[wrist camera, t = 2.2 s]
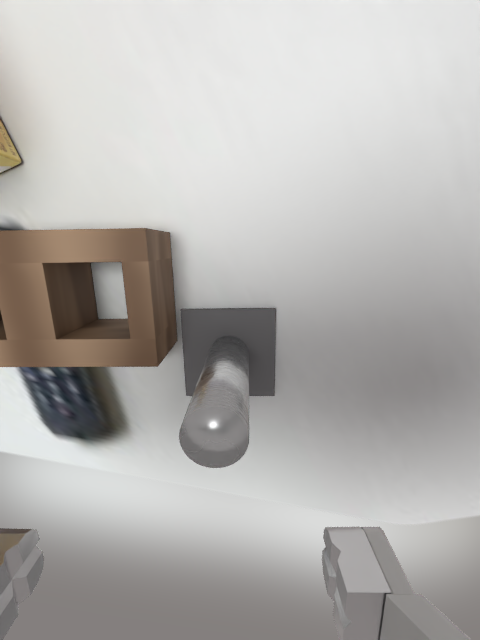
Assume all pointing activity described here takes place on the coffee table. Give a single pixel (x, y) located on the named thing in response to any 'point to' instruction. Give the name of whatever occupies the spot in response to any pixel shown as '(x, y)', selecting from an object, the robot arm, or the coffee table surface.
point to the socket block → (84, 298)
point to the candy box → (7, 151)
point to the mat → (238, 322)
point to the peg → (219, 407)
